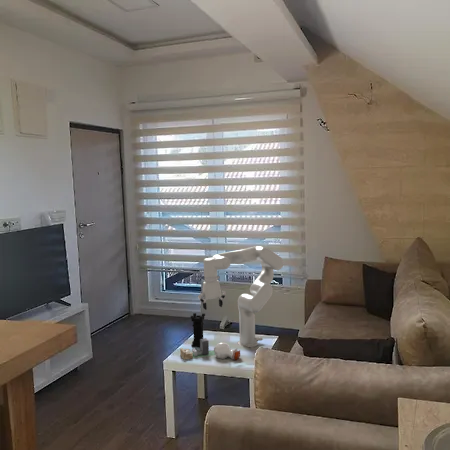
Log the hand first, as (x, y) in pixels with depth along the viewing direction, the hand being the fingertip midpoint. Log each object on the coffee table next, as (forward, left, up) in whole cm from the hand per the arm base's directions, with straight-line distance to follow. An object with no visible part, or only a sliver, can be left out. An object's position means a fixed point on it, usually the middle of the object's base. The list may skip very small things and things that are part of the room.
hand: (213, 307), depth 277 cm
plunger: (+10, +4, -25) cm, 27 cm away
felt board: (+9, +4, -27) cm, 28 cm away
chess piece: (+6, -12, -27) cm, 30 cm away
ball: (+17, +4, -24) cm, 30 cm away
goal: (+18, +4, -25) cm, 31 cm away
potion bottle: (-3, +14, -27) cm, 30 cm away
